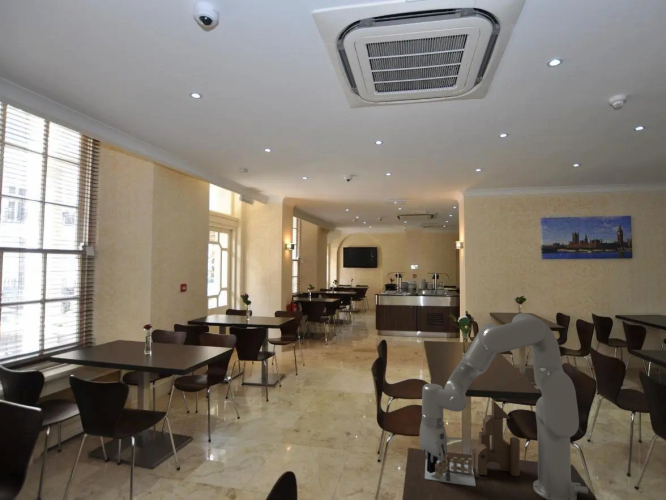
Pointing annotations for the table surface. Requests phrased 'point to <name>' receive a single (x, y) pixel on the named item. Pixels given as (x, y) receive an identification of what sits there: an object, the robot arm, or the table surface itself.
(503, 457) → the wooden toy
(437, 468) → the beige stepped wooden piece
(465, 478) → the card
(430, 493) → the table surface
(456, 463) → the fence fixed
